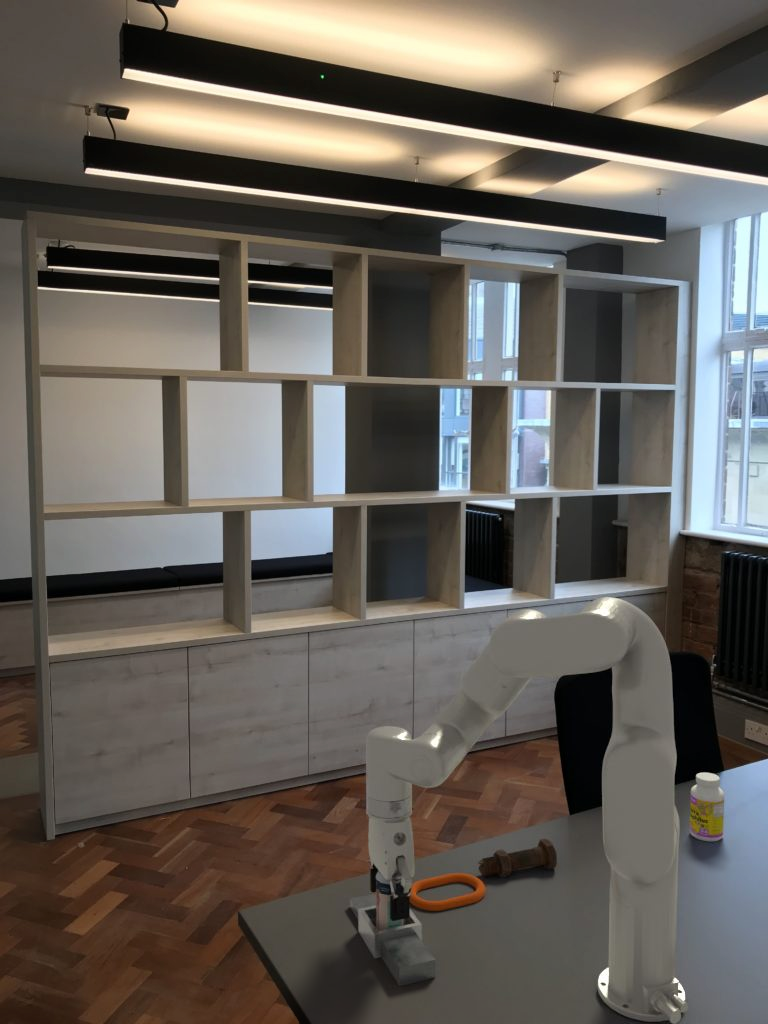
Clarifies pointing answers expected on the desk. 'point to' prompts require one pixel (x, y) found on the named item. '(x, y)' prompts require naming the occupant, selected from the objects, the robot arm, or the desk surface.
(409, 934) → the bar with square collar
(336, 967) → the desk surface
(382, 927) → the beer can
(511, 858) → the bolt
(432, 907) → the metal ring
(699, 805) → the supplement bottle
